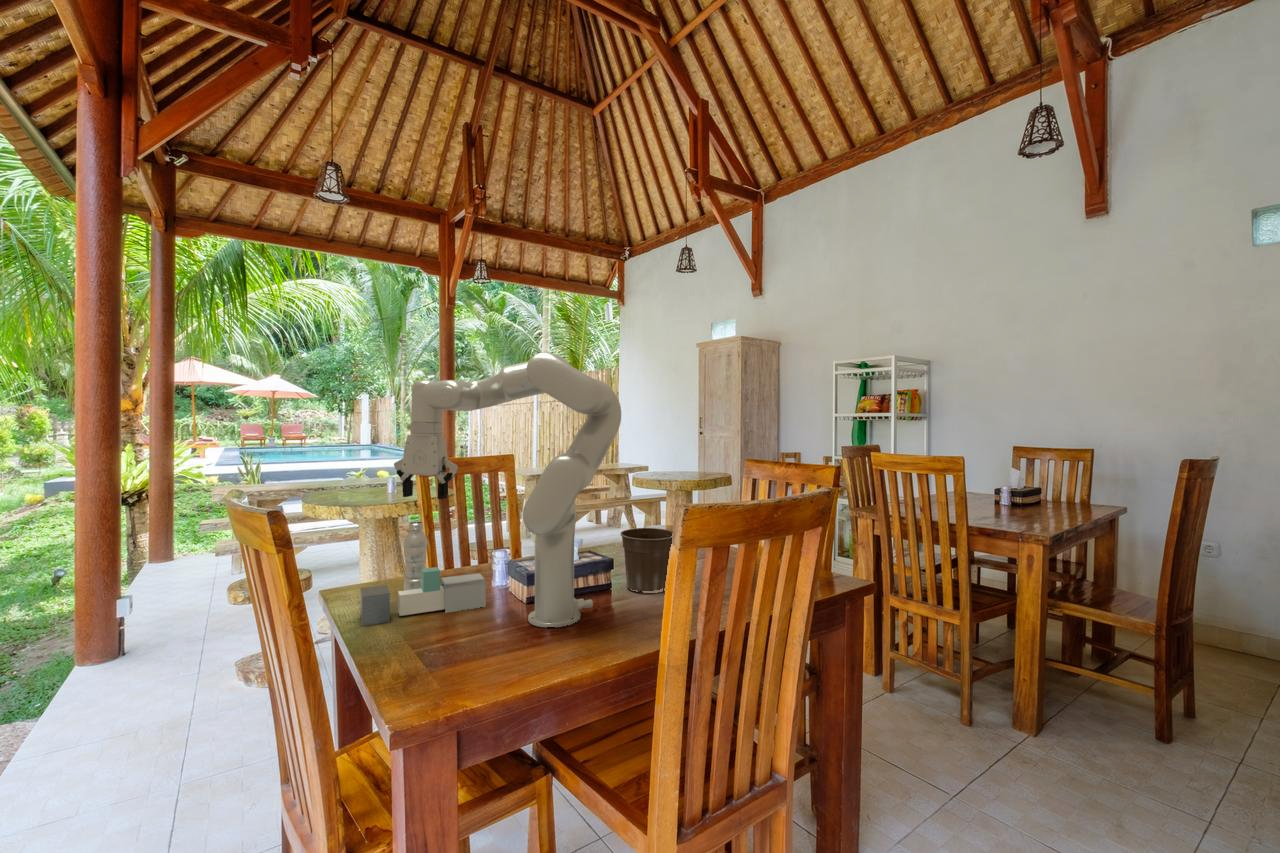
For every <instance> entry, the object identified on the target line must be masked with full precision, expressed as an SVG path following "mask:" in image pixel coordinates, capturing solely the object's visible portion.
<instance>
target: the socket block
mask: <svg viewBox="0 0 1280 853" xmlns="http://www.w3.org/2000/svg"><path fill="white" fill-rule="evenodd" d="M359 593H360V621H361V626H362V627H367V626H372V625H373V624H374V625H380V623H381V624H386V623H385V622H387V623H390V622H391V620H390V619H391V618H390V617H391V611H390V610H391V606H390V605H391V603H390V602H391V599H390V598H391V594H390V590H389V587H388V585H387V584H382V585H375V586H366V587H360V592H359ZM374 625H373V626H374Z"/></svg>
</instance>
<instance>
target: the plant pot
mask: <svg viewBox="0 0 1280 853" xmlns="http://www.w3.org/2000/svg"><path fill="white" fill-rule="evenodd" d="M673 532H674V531H673V530H670V529H665V528H656V527H639V528H636V527H635V528H630V529H625V530H621V532H620V536H621V538H622V540H621V542H622V548H623V552H624V563H625V575H626V578H625V579H626V588H627V587H628V588H630V589H632V590H637V591H639V592H640V591H654V590H660V589H662V588H663V592H662V593H664V592H665V591H664V588H665V581H666V575H667V565H668V559H669V551H670V547H671V544H672V537H671V536H672V533H673ZM628 588H627V589H628Z"/></svg>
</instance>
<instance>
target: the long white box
mask: <svg viewBox="0 0 1280 853" xmlns="http://www.w3.org/2000/svg"><path fill="white" fill-rule="evenodd" d="M442 610H445V587H444V586H441V570H440V568H439V567H438V566H435V567H426V568H425V569H421V588H420V589H413V590H405V591H404V590H397V612H398V615H399V617H403V616H409V615H415V614H421V613H428V612H435V611H436V612H437V611H442Z"/></svg>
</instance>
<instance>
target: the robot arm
mask: <svg viewBox="0 0 1280 853" xmlns="http://www.w3.org/2000/svg"><path fill="white" fill-rule="evenodd" d="M542 394H547V395H548V396H550V397H551V398H553V399H554V400H556V401H558V402H559V403H561V404H563V405H565V406H566V407H568V408H569V409H571V410H572V411H575V412H577V413H579V414H583V415H586V418H585V419H584V420H585V421H584V423H583V425H581V426H580V428H579V430H578V431H577V433H576V435H575V437H574V439H573V441H572V442H571V444H570V445H569V447H568V449H567V450H566V452H564V453H560V454H559V455H556V456H555V457H553V458H552V459H551V460H550V461H549V462H548V463H547V465H546V466H545V468H544V470H543V472H542V473H541V475H540V477H539V479H538V480H537V482H536V483H535V486H534V487H533V489H532V491H531V493H530V494H529V496H528V498H527V500H526V501H525V503H524V506H523V509H522V510H523V511H522V522H523V524H524V527H525V528H526V529H527V530H528V531H529V533H531V534H534V536H535V538H534V610H533V611H531V612H530V613H529V614H528V617H527V620H528V622H529V623H530V624H531V625H533V626H535V627H539V628H547V627H555V628H562V627H563V626H564V627H567V625H568V626H571V625H573V623H574V624H576V623H577V622H579V621H580V620H581V612H580V611H581V610H582V609H589V608H593V605H594V602H593V600H592V599H590V598H589V599H585V598H578V599H577V598H575V534H576V533H575V532H576V525H577V524H576V520H577V506H576V503H575V501H576V499H577V497H578V495H579V494H580V493H581V491H583V490H585V489H586V488H587V487H589V485H591V483H592V481H593V480H594V477H595V475H596V473H597V472H598V470H599V467H600V466H601V464H602V462H603V460H604V459H605V457H606V455H607V453H608V451H609V450H610V448H611V446H612V444H613V442H614V441H615V438H616V436H617V434H618V431H619V429H620V426H621V421H622V409H621V403H620V400H619V398H618V396H617V395H616V393H615V391H614V390H613V388H611V386H610V385H609V384H608V383H606V382H604V381H602V380H600V379H596V378H592V376H589V375H588V374H586V373H584V372H582V371H581V370H579V369H577V368H576V367H574V366H572V365H571V364H569V362H568V361H567V360H566V359H565V358H564V357H562V356H560V355H557V354H556V353H554V352H553V353H552V352H548V351H543V352H538V353H536V354H534V355H533V356H532V357H530V359H529V360H527V361H523V362H519V363H514V364H511V365H510V364H509V365H506V366H504V367H502V368H500V371H499V372H498V373H497V374H495V375H493V376H491V377H486V378H483V379H478V380H473V381H464V380H463V381H462V380H457V379H456V380H455V379H445V380H438V381H437V380H428V379H427V380H423V379H421V380H415V381H414V382H413V383H412V385H411V406H410V407H411V410H410V411H411V412H410V415H411V416H410V424H407V426H406V429H407V430H408V431H410V434H407V436H406V439H405V443H404V448H403V457H402V458H401V459H400V460H397V461H395V462H394V464H393V466H394V469H395V470H396V474H397V475H398V478H399V479H400V481H401V482H402V490H401V491H402V497H403V498H408V497H412V496H413V492H414V481H413V480H412V479H413V477H414V476H432V477H433V476H435V477H436V478H437V480H438V481H439V482H438V483H437V500H444V499H447V497H448V494H449V483H450V482H451V480H452V479H453V478H454V477H455V476H456V473H457V471H458V469H459V466H458V465H457V464H456V463H454V462H453V461H451V460H449V459H448V451H447V450H448V448H447V443H446V437H445V435H443V430H444V429H443V422H444V410H446V411H453V412H454V411H456V412H458V411H459V412H461V411H462V412H468V411H469V412H472V411H476V410H481V409H486V408H490V407H494V406H495V407H496V406H498V405H501V404H504V403H509V402H513V401H515V400H516V401H517V400H520V399H524V398H525V399H526V398H528V397H532V396H536V395H537V396H538V395H542ZM447 469H449V471H448V473H447ZM584 599H585V600H584ZM578 620H579V621H578ZM575 622H576V623H575Z"/></svg>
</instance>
